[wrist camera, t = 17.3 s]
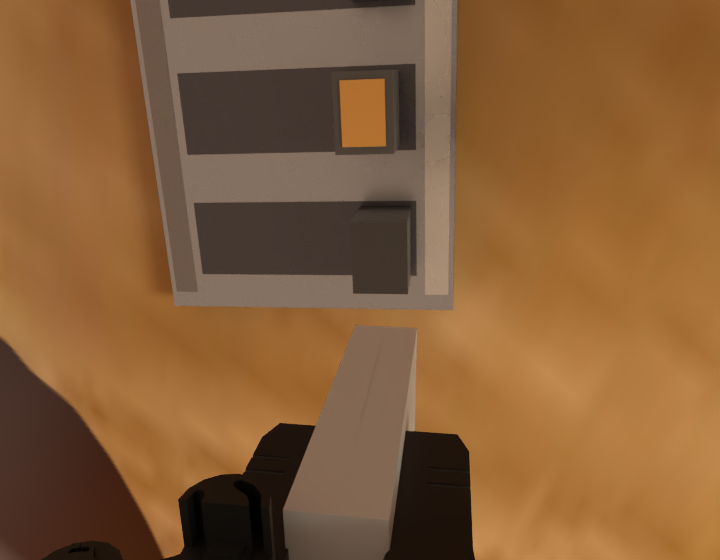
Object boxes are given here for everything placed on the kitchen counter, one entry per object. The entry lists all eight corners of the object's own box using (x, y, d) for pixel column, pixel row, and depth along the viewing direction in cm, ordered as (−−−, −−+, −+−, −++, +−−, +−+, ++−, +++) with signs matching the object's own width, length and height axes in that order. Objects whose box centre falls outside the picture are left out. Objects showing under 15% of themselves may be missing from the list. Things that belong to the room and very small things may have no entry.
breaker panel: (131, -110, 33) (66, -148, 27) (458, -138, 31) (462, -187, 25) (187, 295, 41) (145, 330, 35) (452, 298, 38) (454, 337, 33)
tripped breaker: (344, 72, 33) (330, 72, 29) (398, 70, 32) (392, 69, 28) (347, 146, 34) (334, 155, 30) (399, 145, 34) (394, 154, 30)
